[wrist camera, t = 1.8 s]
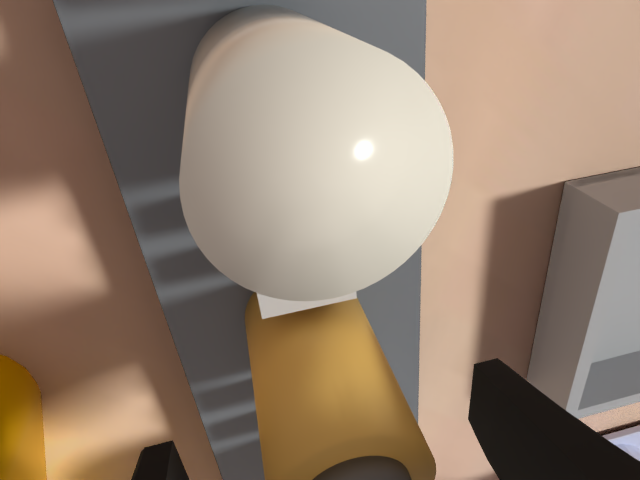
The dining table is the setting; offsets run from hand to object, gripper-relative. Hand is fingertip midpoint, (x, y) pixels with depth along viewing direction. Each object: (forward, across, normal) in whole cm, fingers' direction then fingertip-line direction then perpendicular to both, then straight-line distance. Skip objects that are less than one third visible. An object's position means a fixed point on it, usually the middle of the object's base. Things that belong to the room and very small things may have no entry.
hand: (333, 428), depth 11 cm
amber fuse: (+4, 0, 0) cm, 4 cm away
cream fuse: (+4, 0, -7) cm, 8 cm away
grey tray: (+6, -15, +3) cm, 16 cm away
